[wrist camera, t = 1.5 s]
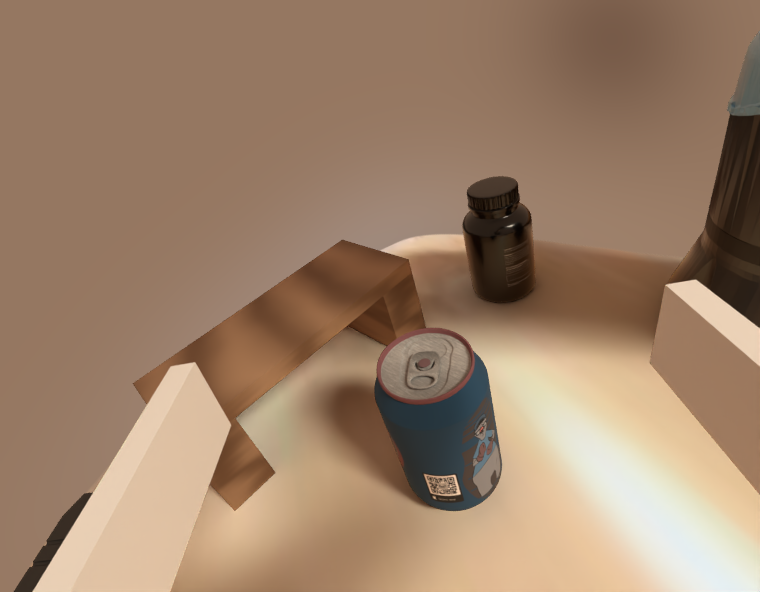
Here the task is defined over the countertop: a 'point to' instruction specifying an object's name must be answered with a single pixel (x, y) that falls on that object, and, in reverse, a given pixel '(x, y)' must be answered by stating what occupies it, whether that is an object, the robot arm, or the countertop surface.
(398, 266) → the bridge shelf
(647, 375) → the countertop surface
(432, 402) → the soda can
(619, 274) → the countertop surface
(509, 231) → the supplement bottle
